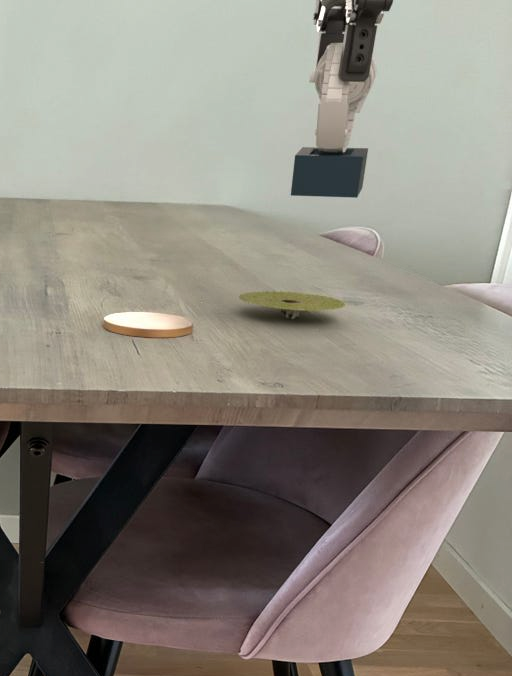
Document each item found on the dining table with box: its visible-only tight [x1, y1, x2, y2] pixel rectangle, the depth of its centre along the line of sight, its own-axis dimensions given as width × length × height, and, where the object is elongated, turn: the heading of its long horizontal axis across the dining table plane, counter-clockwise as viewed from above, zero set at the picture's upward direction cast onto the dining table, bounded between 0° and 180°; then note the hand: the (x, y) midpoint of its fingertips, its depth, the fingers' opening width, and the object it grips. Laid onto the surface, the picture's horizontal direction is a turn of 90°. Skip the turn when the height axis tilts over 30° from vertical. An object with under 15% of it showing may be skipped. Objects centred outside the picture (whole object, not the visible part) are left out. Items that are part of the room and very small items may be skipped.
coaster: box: [102, 311, 194, 339], centre depth 96 cm, size 9×9×1 cm
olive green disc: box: [238, 290, 346, 320], centre depth 103 cm, size 11×11×2 cm
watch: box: [290, 43, 377, 199], centre depth 80 cm, size 6×8×11 cm
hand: (338, 83), depth 78 cm, fingers closed on watch, 8 cm apart
